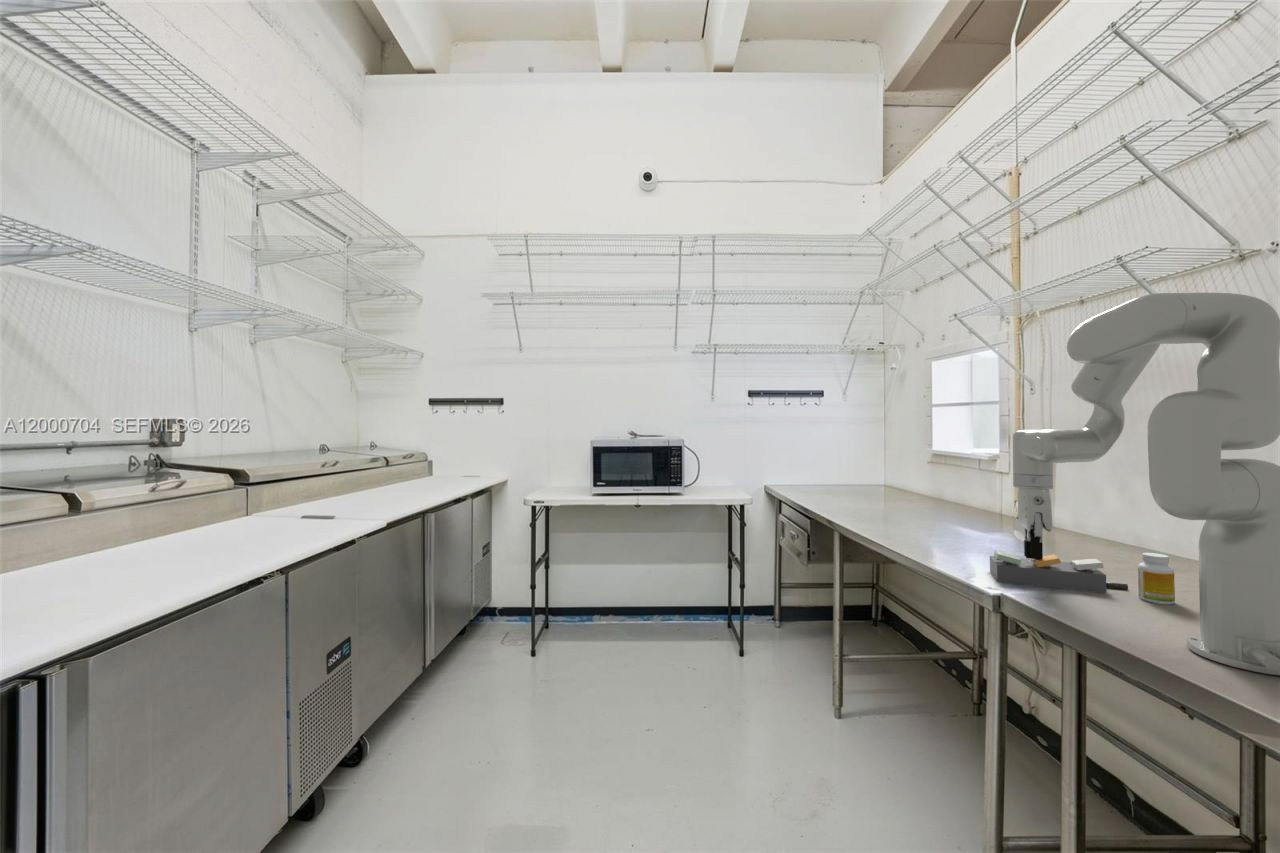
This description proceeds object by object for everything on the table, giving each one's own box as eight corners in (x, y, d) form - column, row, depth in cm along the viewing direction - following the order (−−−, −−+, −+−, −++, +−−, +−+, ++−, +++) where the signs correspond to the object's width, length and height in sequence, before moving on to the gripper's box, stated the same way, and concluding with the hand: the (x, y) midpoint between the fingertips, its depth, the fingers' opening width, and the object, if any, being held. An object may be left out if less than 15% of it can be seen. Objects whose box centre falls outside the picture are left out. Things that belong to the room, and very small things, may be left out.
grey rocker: (1103, 568, 112) (1101, 562, 113) (1077, 570, 114) (1076, 564, 115) (1097, 563, 116) (1095, 558, 116) (1072, 565, 118) (1070, 560, 118)
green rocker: (1019, 564, 119) (1021, 559, 119) (996, 558, 121) (997, 553, 121) (1016, 560, 123) (1017, 555, 123) (993, 555, 125) (994, 550, 125)
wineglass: (1017, 558, 141) (1016, 516, 141) (1043, 562, 137) (1042, 518, 137) (1011, 562, 138) (1010, 518, 138) (1037, 566, 133) (1036, 521, 133)
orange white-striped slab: (1061, 563, 116) (1058, 557, 116) (1037, 567, 118) (1035, 562, 118) (1055, 559, 119) (1053, 553, 120) (1033, 563, 121) (1031, 558, 122)
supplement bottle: (1182, 605, 103) (1181, 558, 103) (1151, 604, 104) (1150, 557, 104) (1161, 597, 108) (1160, 552, 108) (1131, 595, 109) (1130, 551, 110)
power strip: (1136, 596, 109) (1136, 575, 109) (997, 581, 120) (996, 563, 120) (1118, 583, 118) (1117, 564, 118) (990, 571, 129) (989, 554, 129)
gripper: (1062, 485, 112) (1062, 568, 112) (1043, 478, 125) (1044, 552, 125) (1020, 484, 115) (1021, 564, 115) (1007, 477, 128) (1007, 549, 128)
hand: (1033, 557), depth 120 cm, fingers closed
